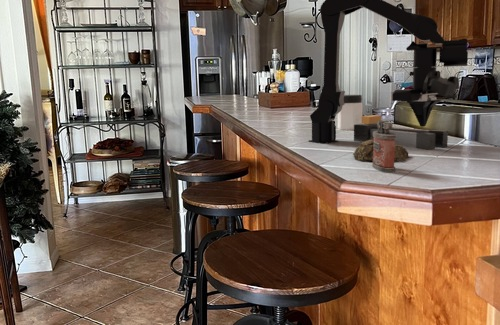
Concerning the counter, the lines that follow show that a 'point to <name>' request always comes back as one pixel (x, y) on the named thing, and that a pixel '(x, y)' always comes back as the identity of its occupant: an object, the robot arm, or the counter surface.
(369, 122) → the lock tab
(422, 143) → the tongs base
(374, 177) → the counter surface
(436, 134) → the tong arm
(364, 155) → the bread roll
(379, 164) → the lighter
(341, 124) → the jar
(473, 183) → the counter surface
